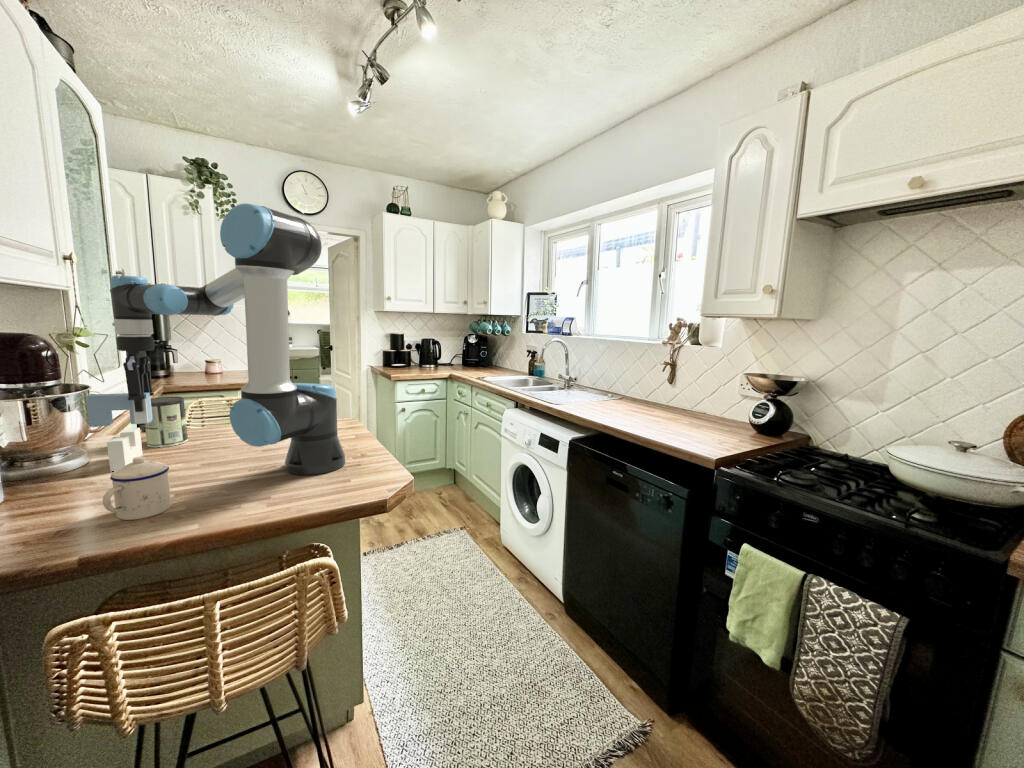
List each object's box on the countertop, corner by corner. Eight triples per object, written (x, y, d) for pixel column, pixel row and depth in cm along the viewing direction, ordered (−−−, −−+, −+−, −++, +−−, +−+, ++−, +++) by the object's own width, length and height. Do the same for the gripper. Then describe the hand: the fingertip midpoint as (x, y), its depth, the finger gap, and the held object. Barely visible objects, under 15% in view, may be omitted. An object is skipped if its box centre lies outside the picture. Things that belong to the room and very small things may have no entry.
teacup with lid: (145, 500, 93) (140, 449, 91) (183, 503, 92) (178, 451, 90) (86, 526, 81) (78, 468, 79) (129, 530, 80) (122, 471, 78)
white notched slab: (125, 470, 110) (122, 440, 109) (110, 471, 109) (106, 441, 107) (142, 454, 122) (139, 427, 121) (129, 455, 121) (126, 428, 120)
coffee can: (167, 437, 139) (163, 395, 137) (196, 439, 138) (192, 397, 136) (137, 446, 129) (132, 401, 127) (168, 448, 128) (163, 403, 126)
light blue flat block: (148, 423, 115) (146, 394, 114) (89, 426, 110) (86, 396, 108) (151, 420, 118) (149, 392, 117) (94, 423, 112) (91, 394, 111)
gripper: (127, 333, 117) (135, 415, 121) (104, 337, 103) (114, 429, 107) (161, 334, 121) (168, 414, 125) (143, 337, 107) (152, 427, 110)
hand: (143, 421), depth 116 cm, fingers closed on light blue flat block, 3 cm apart
